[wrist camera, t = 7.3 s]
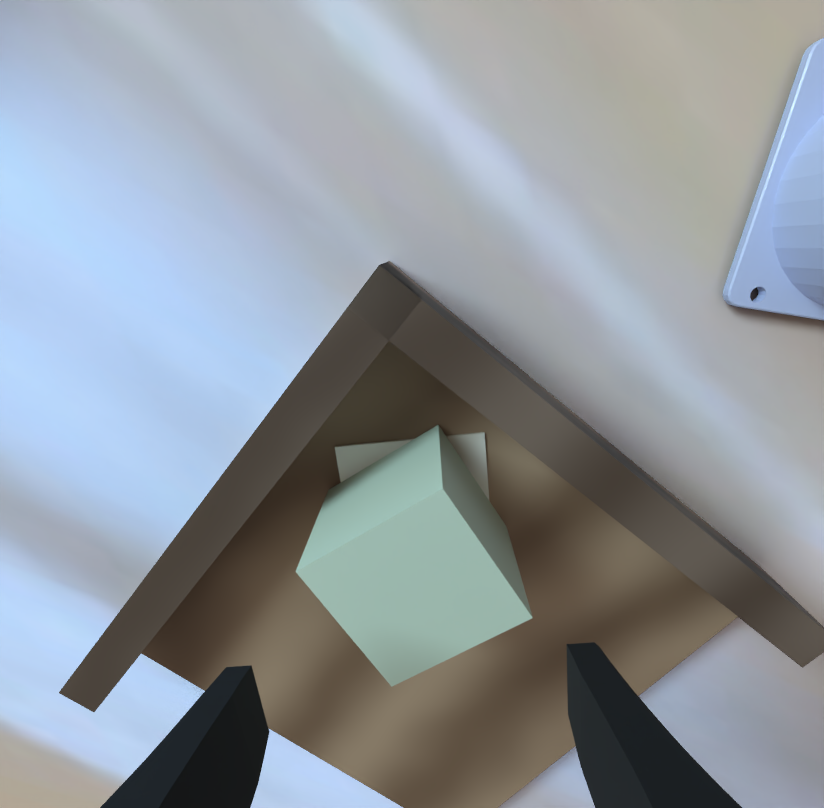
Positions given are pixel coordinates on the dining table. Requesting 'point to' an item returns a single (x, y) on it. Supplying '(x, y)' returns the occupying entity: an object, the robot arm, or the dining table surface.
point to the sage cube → (414, 560)
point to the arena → (531, 541)
